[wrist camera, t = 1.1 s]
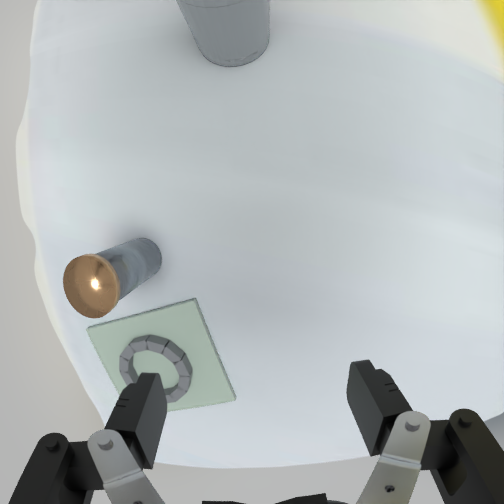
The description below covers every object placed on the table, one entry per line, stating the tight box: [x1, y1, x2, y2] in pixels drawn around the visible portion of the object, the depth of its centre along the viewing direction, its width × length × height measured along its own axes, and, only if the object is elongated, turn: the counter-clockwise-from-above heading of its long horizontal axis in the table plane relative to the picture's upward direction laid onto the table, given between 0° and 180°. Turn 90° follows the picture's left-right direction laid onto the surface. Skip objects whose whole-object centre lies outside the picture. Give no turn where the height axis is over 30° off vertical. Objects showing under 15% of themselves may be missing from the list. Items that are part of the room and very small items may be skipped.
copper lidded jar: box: [63, 238, 161, 318], centre depth 32 cm, size 6×6×14 cm
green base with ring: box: [86, 298, 236, 412], centre depth 40 cm, size 16×18×3 cm
